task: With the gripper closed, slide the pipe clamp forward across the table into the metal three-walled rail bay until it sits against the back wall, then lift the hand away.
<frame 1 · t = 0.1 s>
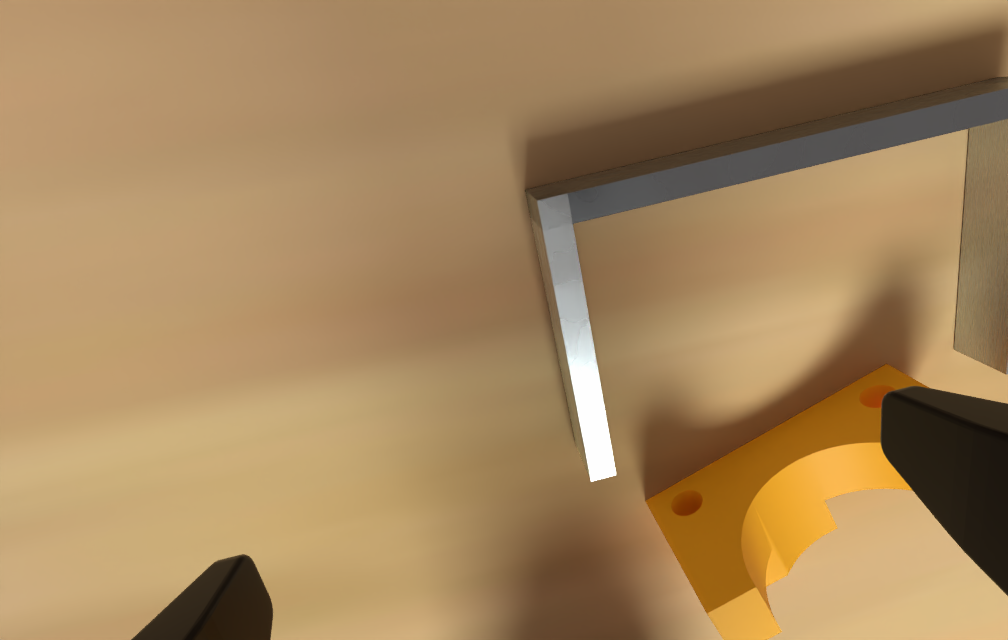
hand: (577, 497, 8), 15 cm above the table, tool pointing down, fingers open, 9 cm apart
rail bay: (773, 286, 24), on the table
pipe clamp: (776, 463, 27), on the table
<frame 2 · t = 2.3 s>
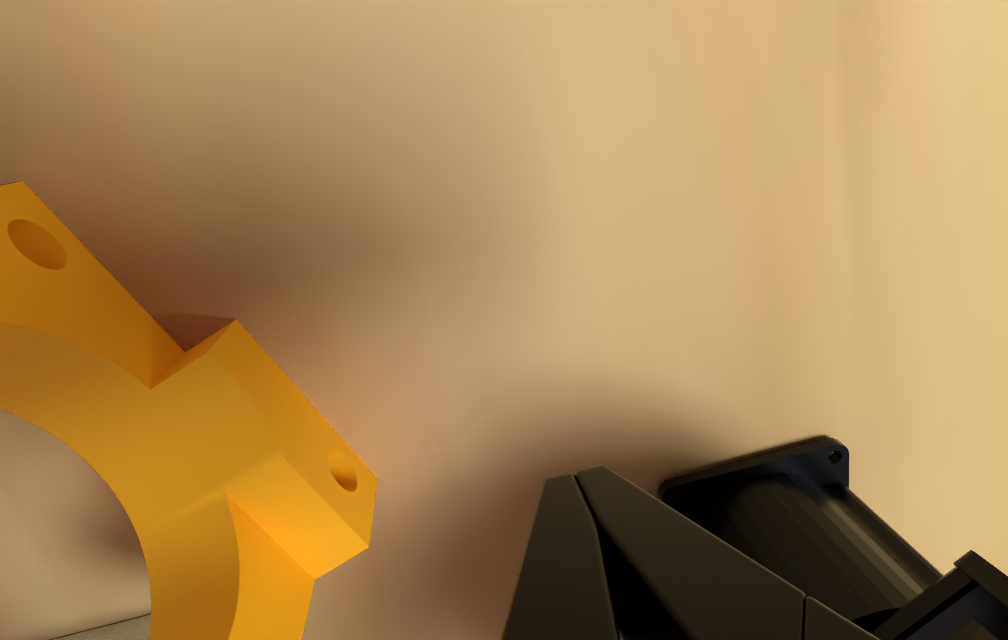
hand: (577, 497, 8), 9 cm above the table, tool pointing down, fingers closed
pipe clamp: (189, 367, 17), on the table
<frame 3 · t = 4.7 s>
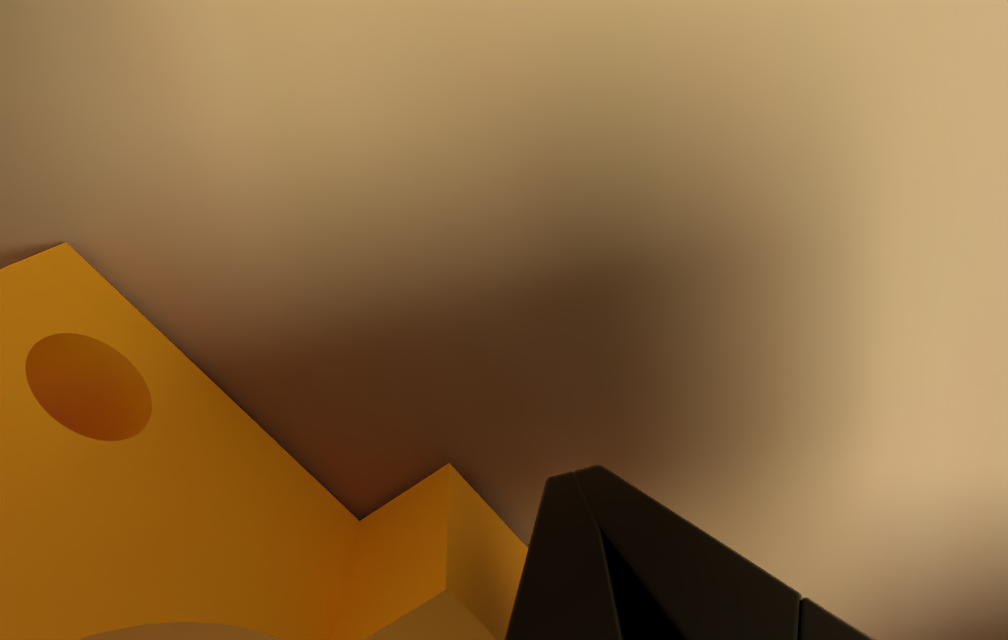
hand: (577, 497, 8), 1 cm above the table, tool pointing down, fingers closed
pipe clamp: (360, 543, 10), on the table, touching gripper
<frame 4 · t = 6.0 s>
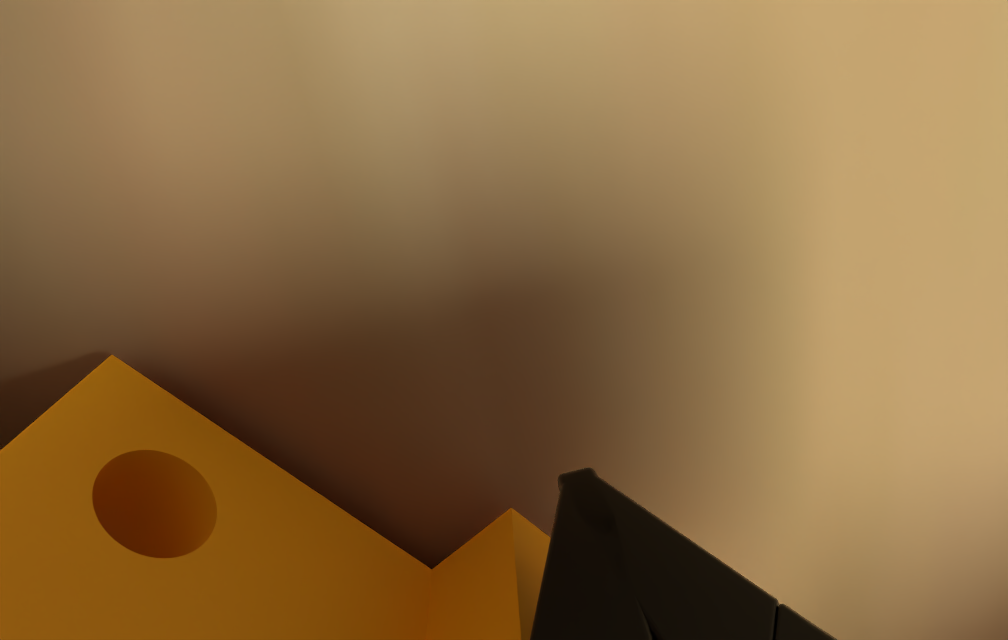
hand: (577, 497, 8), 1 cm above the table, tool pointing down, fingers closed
pipe clamp: (436, 586, 10), on the table, touching gripper, rail bay
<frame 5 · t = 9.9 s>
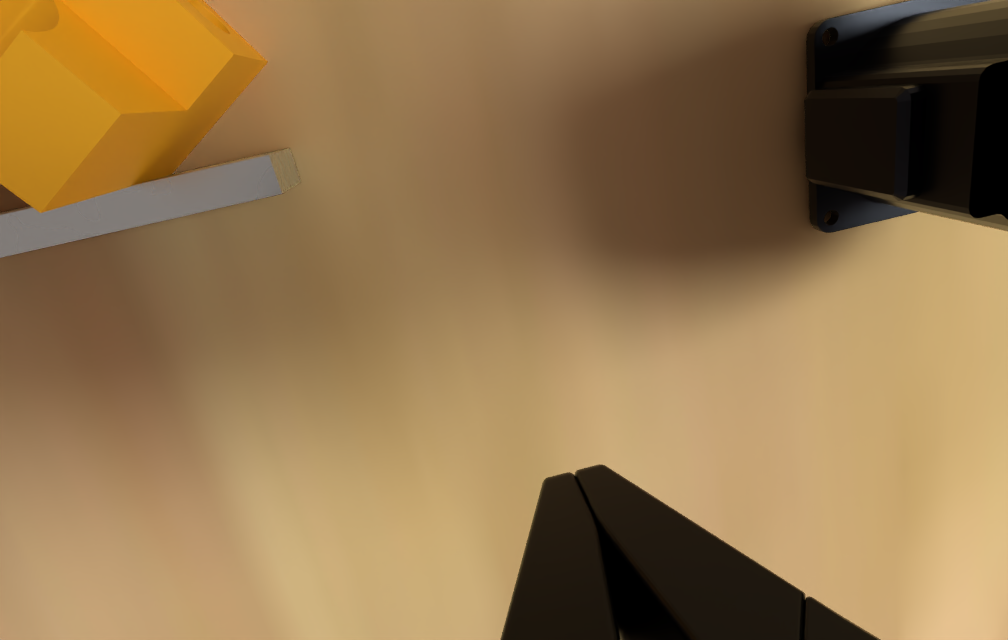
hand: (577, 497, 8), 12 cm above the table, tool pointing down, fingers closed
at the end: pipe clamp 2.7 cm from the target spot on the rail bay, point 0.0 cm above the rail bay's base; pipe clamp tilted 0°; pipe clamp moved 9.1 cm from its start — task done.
